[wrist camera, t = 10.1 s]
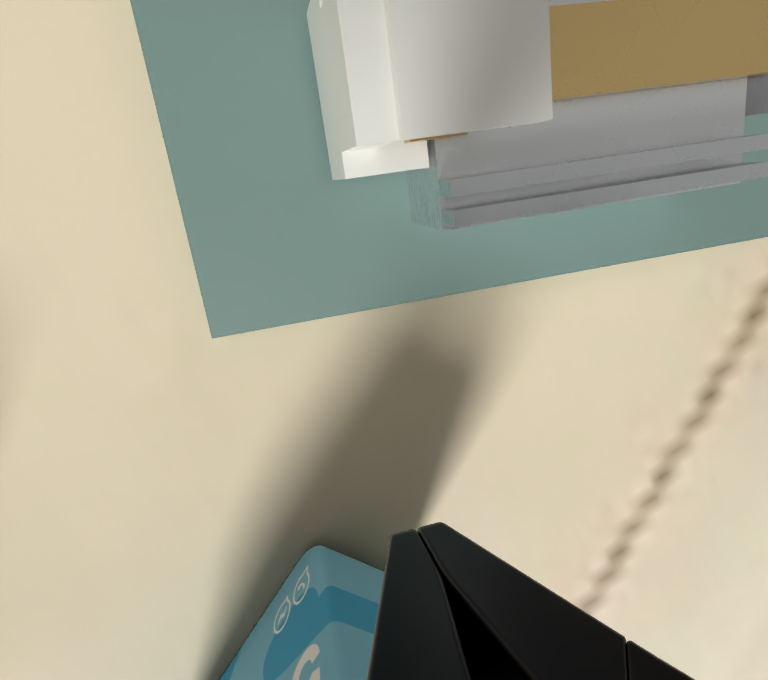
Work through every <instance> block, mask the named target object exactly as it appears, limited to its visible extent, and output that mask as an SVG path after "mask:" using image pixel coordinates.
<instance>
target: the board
mask: <svg viewBox="0 0 768 680" xmlns="http://www.w3.org/2000/svg"><path fill="white" fill-rule="evenodd" d="M130 2H131V6H132V10H133V14H134V18H135V22H136V26H137V31H138V35H139V39H140V43H141V47H142V51H143V55H144V59H145V64H146V68H147V72H148V76H149V80H150V84H151V88H152V93H153V97H154V101H155V105H156V109H157V113H158V117H159V121H160V126H161V130H162V134H163V138H164V142H165V146H166V150H167V154H168V159H169V163H170V167H171V171H172V175H173V179H174V183H175V187H176V192H177V196H178V200H179V204H180V208H181V212H182V216H183V220H184V225H185V229H186V233H187V237H188V241H189V245H190V249H191V253H192V258H193V262H194V266H195V270H196V274H197V278H198V282H199V286H200V291H201V295H202V299H203V303H204V307H205V311H206V315H207V320H208V324H209V328H210V332H211V336H212V338H217V337H223V336H228V335H234V334H239V333H244V332H250V331H255V330H261V329H266V328H272V327H277V326H283V325H288V324H294V323H299V322H305V321H310V320H315V319H321V318H326V317H332V316H337V315H343V314H348V313H354V312H359V311H365V310H370V309H376V308H381V307H386V306H392V305H397V304H403V303H408V302H414V301H419V300H425V299H430V298H436V297H441V296H447V295H452V294H457V293H463V292H468V291H474V290H479V289H485V288H490V287H496V286H501V285H507V284H512V283H517V282H523V281H528V280H534V279H539V278H545V277H550V276H556V275H561V274H567V273H572V272H578V271H583V270H588V269H594V268H599V267H605V266H610V265H616V264H621V263H627V262H632V261H638V260H643V259H649V258H654V257H659V256H665V255H670V254H676V253H681V252H687V251H692V250H698V249H703V248H709V247H714V246H720V245H725V244H730V243H736V242H741V241H747V240H752V239H758V238H763V237H768V177H763V178H757V179H751V180H744V181H740V183H737V184H731V185H724V186H718V187H712V188H706V189H700V190H694V191H687V192H681V193H675V194H669V195H663V196H657V197H650V198H644V199H638V200H632V201H626V202H620V203H613V204H607V205H601V206H595V207H589V208H583V209H577V210H570V211H564V212H558V213H552V214H546V215H540V216H533V217H527V218H521V219H515V220H509V221H503V222H496V223H490V224H484V225H478V226H472V227H466V228H459V229H453V230H447V231H441V230H437V229H433V228H429V227H425V226H421V225H417V224H413V223H412V219H411V210H410V202H409V193H408V184H407V176H406V171H400V172H393V173H386V174H379V175H372V176H365V177H358V178H351V179H342V180H332V174H331V168H330V162H329V155H328V149H327V142H326V136H325V129H324V123H323V117H322V110H321V104H320V97H319V91H318V84H317V78H316V72H315V65H314V59H313V52H312V46H311V40H310V33H309V27H308V20H307V10H308V6H309V2H310V0H130ZM767 133H768V113H764V114H757V115H750V116H745V120H744V135H743V136H748V135H757V134H767ZM767 161H768V149H765V150H759V151H752V152H746V153H742V163H746V162H767Z"/></svg>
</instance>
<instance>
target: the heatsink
mask: <svg viewBox="0 0 768 680" xmlns="http://www.w3.org/2000/svg"><path fill="white" fill-rule="evenodd" d="M600 1H610V0H549V6H557V5H568V4H578V3H589V2H600ZM552 110H553V119H552V120H548V121H543V122H539V123H532V124H524V125H516V126H509V127H501V128H494V129H486V130H478V131H471V132H468V134H467V135H463V136H458V137H451V138H443V139H436V140H428V141H427V149H428V158H429V168H421V169H414V170H407V171H406V176H407V184H408V193H409V202H410V210H411V219H412V223H413V224H417V225H421V226H425V227H429V228H433V229H437V230H441V231H447V230H453V229H459V228H466V227H472V226H478V225H484V224H490V223H496V222H503V221H509V220H515V219H521V218H527V217H533V216H540V215H546V214H552V213H558V212H564V211H570V210H577V209H583V208H589V207H595V206H601V205H607V204H613V203H620V202H626V201H632V200H638V199H644V198H650V197H657V196H663V195H669V194H675V193H681V192H687V191H694V190H700V189H706V188H712V187H718V186H724V185H731V184H737V183H740V181H744V180H751V179H757V178H763V177H768V161H767V162H746V163H742V153H746V152H752V151H759V150H765V149H768V133H767V134H757V135H748V136H743V135H744V120H745V116H750V115H757V114H764V113H768V74H764V75H756V76H748V77H740V78H732V79H724V80H716V81H708V82H700V83H692V84H684V85H676V86H668V87H660V88H652V89H644V90H636V91H628V92H620V93H612V94H604V95H596V96H588V97H580V98H572V99H565V100H557V101H552Z"/></svg>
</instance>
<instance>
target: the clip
mask: <svg viewBox="0 0 768 680" xmlns="http://www.w3.org/2000/svg"><path fill="white" fill-rule="evenodd" d="M307 20H308V27H309V33H310V40H311V46H312V52H313V59H314V65H315V72H316V78H317V84H318V91H319V97H320V104H321V110H322V117H323V123H324V129H325V136H326V142H327V149H328V155H329V162H330V168H331V174H332V180H342V179H351V178H358V177H365V176H372V175H379V174H386V173H393V172H400V171H407V170H414V169H421V168H429V158H428V149H427V141H420V142H413V143H405V144H404V140H410V139H417V138H425V137H433V136H440V135H448V134H456V133H463V132H471V131H478V130H486V129H494V128H501V127H509V126H516V125H524V124H532V123H539V122H543V121H548V120H552V119H553V110H552V80H551V51H550V22H549V0H310V2H309V6H308V10H307Z"/></svg>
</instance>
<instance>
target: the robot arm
mask: <svg viewBox="0 0 768 680" xmlns="http://www.w3.org/2000/svg"><path fill="white" fill-rule="evenodd" d="M367 680H695V679H693V678H691V677H690V676H688V675H686V674H685V673H683V672H681V671H680V670H678V669H676V668H675V667H673V666H671V665H670V664H668V663H666V662H665V661H663V660H661V659H660V658H658V657H656V656H655V655H653V654H652V653H650V652H648V651H647V650H645V649H644V648H642V647H640V646H639V645H637V644H636V643H634V642H632V641H627V643H626V639H625V637H624V636H622V635H621V634H619V633H618V632H616V631H615V630H613V629H611V628H610V627H608V626H607V625H605V624H603V623H602V622H600V621H599V620H597V619H595V618H594V617H592V616H591V615H589V614H588V613H586V612H584V611H583V610H581V609H580V608H578V607H576V606H575V605H573V604H572V603H570V602H568V601H567V600H565V599H564V598H562V597H561V596H559V595H557V594H556V593H554V592H553V591H551V590H549V589H548V588H546V587H545V586H543V585H541V584H540V583H538V582H537V581H535V580H533V579H532V578H530V577H529V576H527V575H526V574H524V573H522V572H521V571H519V570H518V569H516V568H514V567H513V566H511V565H510V564H508V563H506V562H505V561H503V560H502V559H500V558H499V557H497V556H495V555H494V554H492V553H491V552H489V551H487V550H486V549H484V548H483V547H481V546H479V545H478V544H476V543H475V542H473V541H472V540H470V539H468V538H467V537H465V536H464V535H462V534H460V533H459V532H457V531H456V530H454V529H452V528H451V527H449V526H448V525H446V524H444V523H441V522H438V523H434V524H430V525H426V526H423V527H420V528H419V529H418V531H416V530H413V529H411V530H407V531H403V532H399V533H395V534H393V535H391V537H390V540H389V547H388V553H387V559H386V565H385V571H384V577H383V583H382V589H381V595H380V601H379V607H378V614H377V620H376V626H375V632H374V638H373V644H372V650H371V656H370V662H369V668H368V674H367Z"/></svg>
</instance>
